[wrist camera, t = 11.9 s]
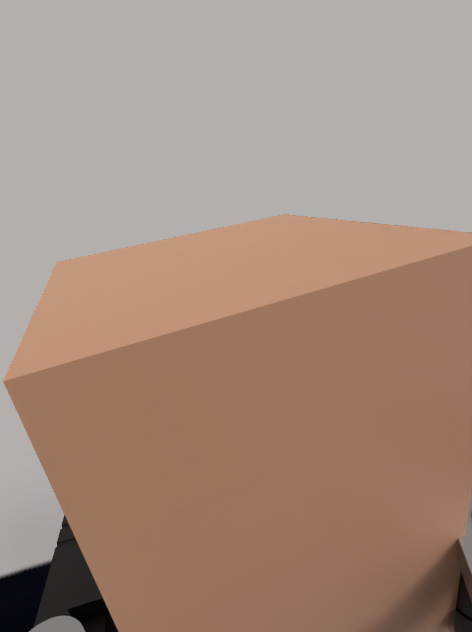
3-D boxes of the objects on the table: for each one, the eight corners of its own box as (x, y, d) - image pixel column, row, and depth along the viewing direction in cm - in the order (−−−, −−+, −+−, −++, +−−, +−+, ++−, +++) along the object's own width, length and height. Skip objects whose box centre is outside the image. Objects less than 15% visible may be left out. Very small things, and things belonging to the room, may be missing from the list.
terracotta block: (321, 607, 14) (284, 214, 8) (430, 798, 10) (504, 235, 4) (200, 680, 12) (56, 262, 7) (262, 944, 8) (1, 381, 2)
